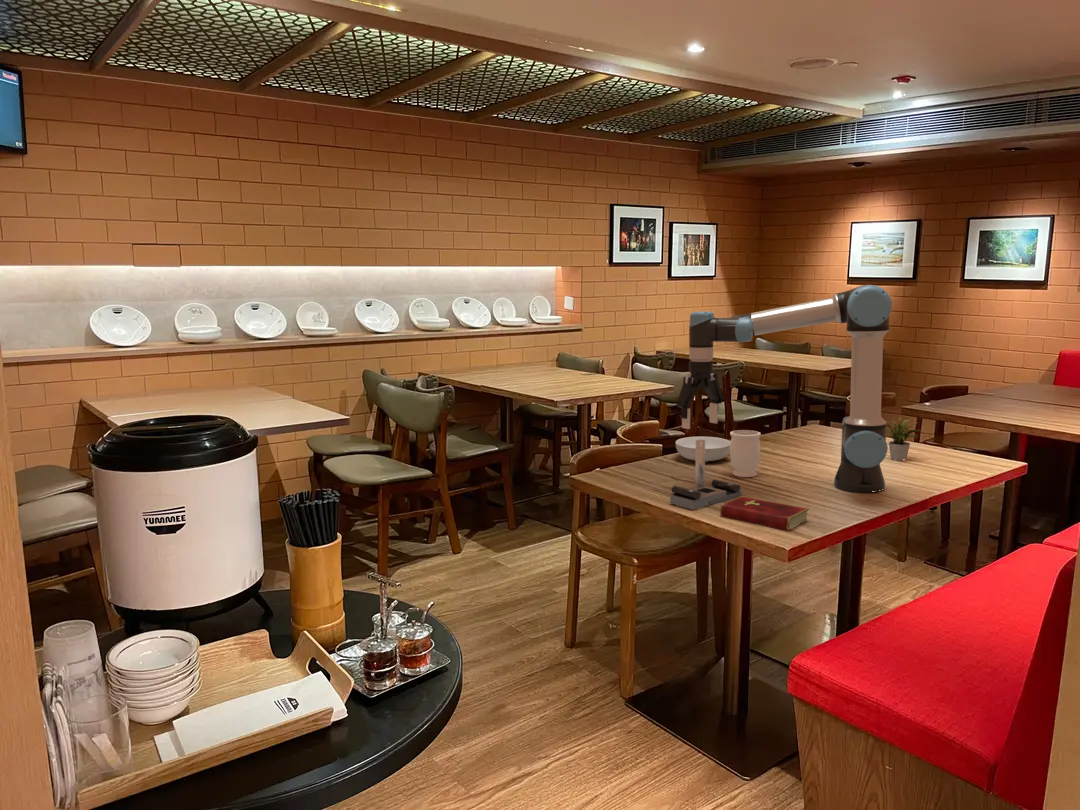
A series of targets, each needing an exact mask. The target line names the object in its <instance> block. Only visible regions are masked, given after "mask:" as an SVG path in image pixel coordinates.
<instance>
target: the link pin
mask: <svg viewBox="0 0 1080 810" xmlns="http://www.w3.org/2000/svg"><path fill="white" fill-rule="evenodd" d="M705 471H706V462H705V440H696V461H695V471H694V472H695V482H694V483H695V485H694V486H695V487H694V488H696V487H700V486H706V484H705V482H706V472H705Z"/></svg>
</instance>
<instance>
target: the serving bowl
mask: <svg viewBox="0 0 1080 810" xmlns="http://www.w3.org/2000/svg"><path fill="white" fill-rule="evenodd" d="M696 440H705V463H709V462H708V461H712V462H714V461H718V460H722V459H724V458H725V457H727V456H728V455H729V454H730V442H731V440H730V439H725V438H721V437H715V436H689V437H683V438H682V437H681V438H679V439H677V440H675V448H676V450H677V452H678V454H679V455H680V456H681V457H683V458H685V459H687V460H690V461H693V460H694V461H693V462H696Z"/></svg>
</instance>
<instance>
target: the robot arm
mask: <svg viewBox="0 0 1080 810" xmlns="http://www.w3.org/2000/svg"><path fill="white" fill-rule="evenodd" d="M892 309H893V303H892V298H891V297H890V295H889V293H888V291H886V290H885V289H884V288H882V287H881V286H879V285H875V284H865V285H858V286H857V287H855V288H851V289H848V290H845V291H841V292H838V293H835V294H833V296H832V297H828V298H822V299H817V300H812V301H806V302H801V303H796V304H792V305H786V306H781V307H775V308H770V309H765V310H761V311H755V312H750V313H744V314H737V315H732V316H730V317H715V315H714V312H713V311H693V312H691V313H690V315H689V326H688V329H689V331H688V335H689V336H688V339H689V340H688V342H689V343H688V344H689V345H688V347H689V350H688V352H689V354H688V355H689V356H688V359H689V361H688V372H689V373H690V376H683V379H682V380H683V382H682V386H681V388H680V389H681V390H680V392H679V396H678V399H677V402H676V405H675V406H676V407H678V408H680V409H681V410H680V412H681V415H680V416H681V429H687V430H690V429H691V408H689V407H690V406H691V404H692V402H693V400H694V398H695V396H696V394H697V393H698V392H699V391H701V390H704V392H705V393H706V395H707V396H708V398H709V399H710V401H711V402H710V403H709V420H708V421H709V423H710V424H718V423H719V422H718V421H719V420H718V419H719V417H718V414H719V404H722V402H723V400H724V397H723V393H722V390H721V388H720V384H719V381H718V374H717V373H713V372H714V362H713V361H712V360H713V359H714V343H715V342H716V343H718V342H719V343H720V342H721V343H722V342H724V343H727V342H728V343H739V344H740V343H747V342H748V343H749V342H751V341H752V340H753V337H754V336H759V335H766V334H771V333H778V332H782V331H783V332H784V331H789V330H794V329H798V328H799V329H800V328H806V327H812V326H817V325H821V324H827V323H833V322H836V323H838V324H844V323H845V324H846V332H847V333H848V335H850V337H851V355H850V356H851V361H850V362H851V364H850V365H851V366H850V368H851V369H850V403H849V404H850V405H849V408H850V409H849V411H850V412H849V416H844V418H842V422H841V449H840V464H839V467H838V469H837V470H836V474H835V477H834V482H833V486H834V485H835V486H834V487H836V488H837V489H839V488H840V489H839V490H842V489H843V491H846V490H848V491H847V492H851V491H856V492H855V493H861V492H872V491H879V490H882V489H884V488H885V489H886V480H885V477H884V474H883V471H882V468H881V463H882V462H883V461H884V460H885V458H886V457H887V454H888V448H889V447H888V446H889V445H888V443H887V437H886V436H887V435H886V434H887V424H886V423H887V420H885V419H884V418H883V417H882V394H883V393H882V390H883V389H882V388H883V359H884V358H883V356H884V336H885V335H887V333H889V332H890V315H891V313H892ZM885 489H884V490H885Z"/></svg>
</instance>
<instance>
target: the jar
mask: <svg viewBox="0 0 1080 810" xmlns="http://www.w3.org/2000/svg"><path fill="white" fill-rule="evenodd" d="M729 435H730V437H731V439H730V452H729V455H730V456H729V457H730V462H731V466H732V469H733V471H732V473H731V474H732V475H733V476H735V477H739V478H753V477H756V476H757V475H758V471H756V470H757V469H758V466H759V463H760V457H761V450H762V449H761V440H760V437H761V431H760V432H759V431H756V430H752V429H751V430H749V429H738V430H732V431H730V433H729Z"/></svg>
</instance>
